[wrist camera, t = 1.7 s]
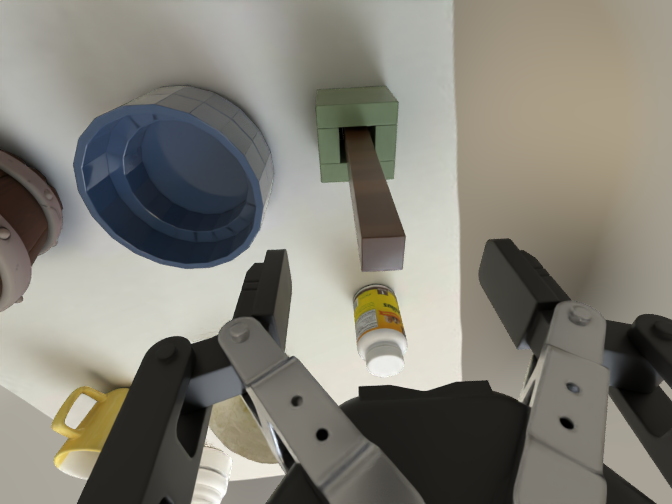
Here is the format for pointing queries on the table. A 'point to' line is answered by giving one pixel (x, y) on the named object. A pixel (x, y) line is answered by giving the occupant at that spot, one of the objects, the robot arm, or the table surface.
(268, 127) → the table surface
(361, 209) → the brown stick
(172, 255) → the blue round tub
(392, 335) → the supplement bottle
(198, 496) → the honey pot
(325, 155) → the stick holder
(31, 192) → the flowerpot
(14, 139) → the table surface
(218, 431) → the bowl
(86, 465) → the mug
